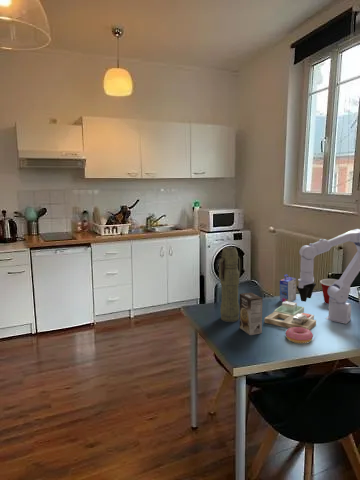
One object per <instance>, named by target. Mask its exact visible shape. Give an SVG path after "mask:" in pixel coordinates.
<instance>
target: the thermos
mask: <svg viewBox="0 0 360 480" xmlns="http://www.w3.org/2000/svg"><path fill="white" fill-rule="evenodd" d="M218 260H219V261H218V279H219V281H220V285H221V303H220V309H219V311H220V320H221V321H223V322H226V323H235V322H238V321H240V303H239V284H240V278H241V258H240V256H239V253H238V250H237V247H235V246H225V247H223V248H222V252H221V258H219V259H218Z"/></svg>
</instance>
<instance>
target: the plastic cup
mask: <svg viewBox="0 0 360 480" xmlns="http://www.w3.org/2000/svg"><path fill="white" fill-rule="evenodd" d="M337 280H338V279H335V278H323V279H321V280H319V283H320V285H321V290H322V297H323V302H324V303H325V304H326V305H329V298H330V296H329V295H328V293H327V290H328V288H329V287H330V286H331V285H333V284H334V282H335V281H337Z"/></svg>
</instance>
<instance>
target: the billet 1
mask: <svg viewBox="0 0 360 480" xmlns="http://www.w3.org/2000/svg"><path fill="white" fill-rule="evenodd" d="M281 306H282V312H286V313H291V314H294V313H295V312H297V306H298V303H297V302H294V301H291V302H289V301H284V302H281Z"/></svg>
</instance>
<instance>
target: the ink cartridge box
mask: <svg viewBox="0 0 360 480" xmlns="http://www.w3.org/2000/svg"><path fill="white" fill-rule="evenodd" d="M283 277H284V278H283V279H280V280H279V301H280V302H281V303H283V302H284V301H289V302H294V301H295V300H297V277H292V276H289V275H288V274H287V273H286V274H283Z"/></svg>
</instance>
